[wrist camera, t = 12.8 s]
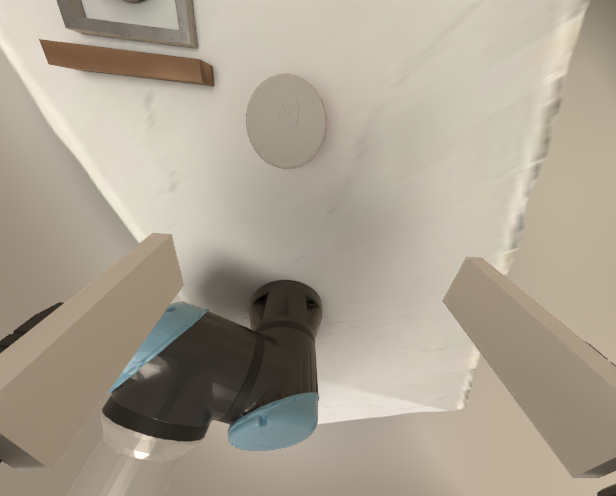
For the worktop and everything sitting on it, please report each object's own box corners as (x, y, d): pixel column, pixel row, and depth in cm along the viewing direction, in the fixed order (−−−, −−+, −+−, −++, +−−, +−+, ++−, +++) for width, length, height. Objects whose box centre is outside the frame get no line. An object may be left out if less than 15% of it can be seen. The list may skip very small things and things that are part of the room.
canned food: (320, 85, 29) (327, 71, 19) (319, 152, 33) (325, 168, 23) (259, 86, 29) (237, 73, 19) (267, 154, 33) (251, 170, 23)
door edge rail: (214, 86, 28) (201, 82, 25) (80, 70, 27) (48, 64, 24) (212, 66, 27) (199, 59, 24) (73, 48, 26) (39, 39, 23)
